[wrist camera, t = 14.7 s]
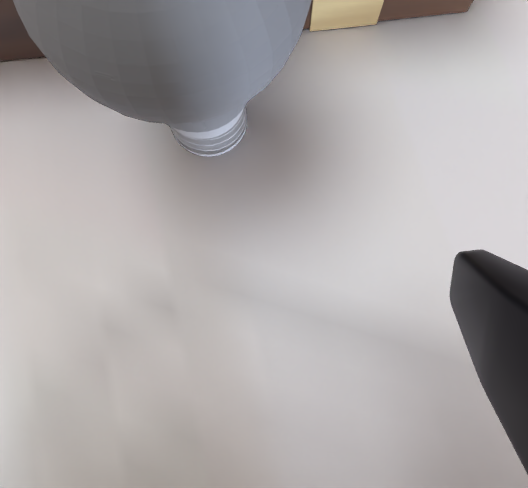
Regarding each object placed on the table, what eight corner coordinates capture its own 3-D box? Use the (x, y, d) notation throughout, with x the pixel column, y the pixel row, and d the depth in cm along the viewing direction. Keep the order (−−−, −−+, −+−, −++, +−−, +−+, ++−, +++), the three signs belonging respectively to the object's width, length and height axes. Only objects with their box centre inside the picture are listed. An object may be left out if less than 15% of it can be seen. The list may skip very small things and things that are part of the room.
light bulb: (100, 85, 17) (-129, -264, 7) (257, 24, 18) (236, -383, 8) (159, 237, 16) (-21, 61, 6) (326, 168, 16) (404, -100, 7)
